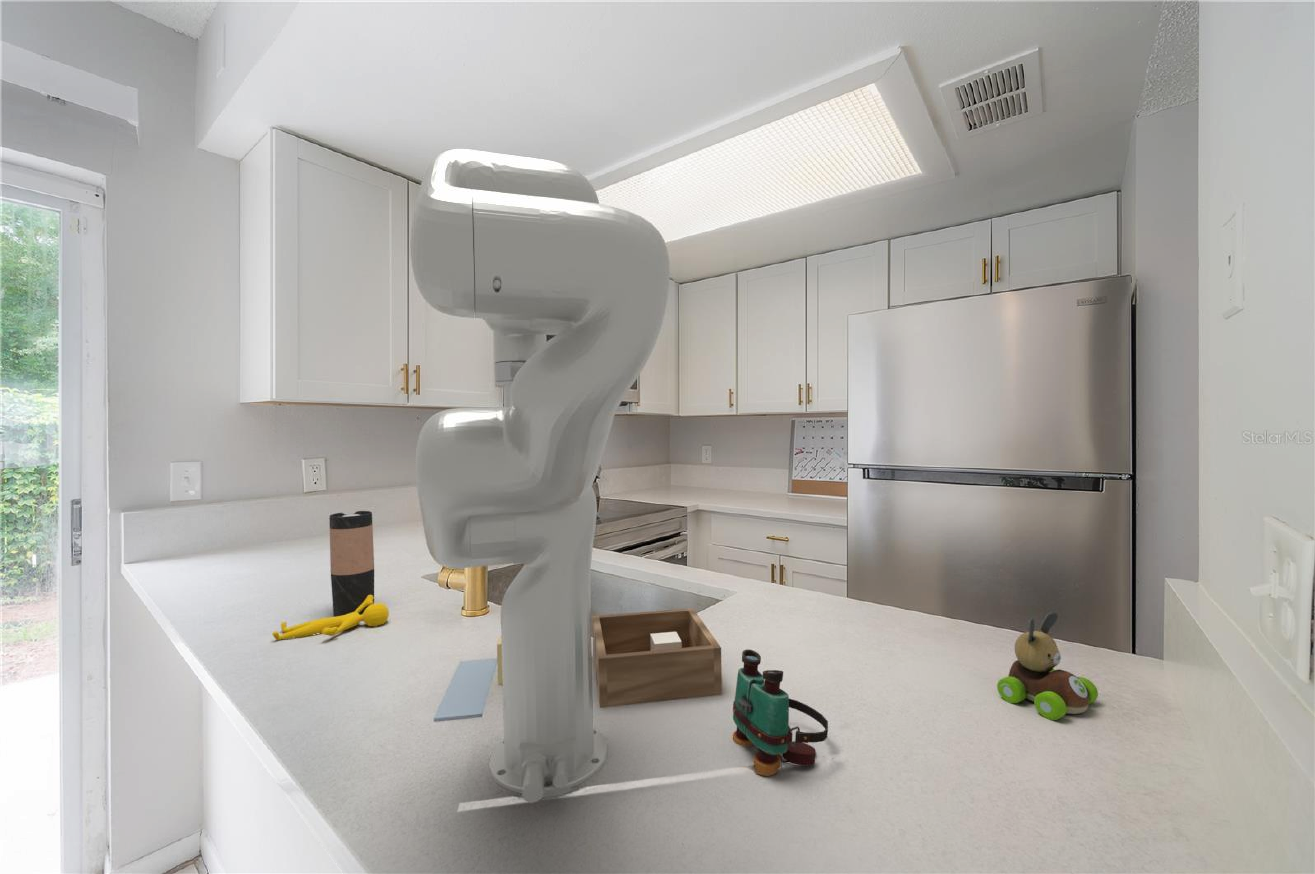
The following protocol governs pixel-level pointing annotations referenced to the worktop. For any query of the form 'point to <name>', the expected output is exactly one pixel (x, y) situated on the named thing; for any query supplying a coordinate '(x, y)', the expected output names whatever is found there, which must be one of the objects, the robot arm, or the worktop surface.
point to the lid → (470, 688)
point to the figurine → (338, 621)
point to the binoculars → (770, 719)
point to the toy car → (1045, 676)
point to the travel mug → (351, 561)
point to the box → (654, 658)
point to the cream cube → (665, 641)
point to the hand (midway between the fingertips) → (524, 492)
